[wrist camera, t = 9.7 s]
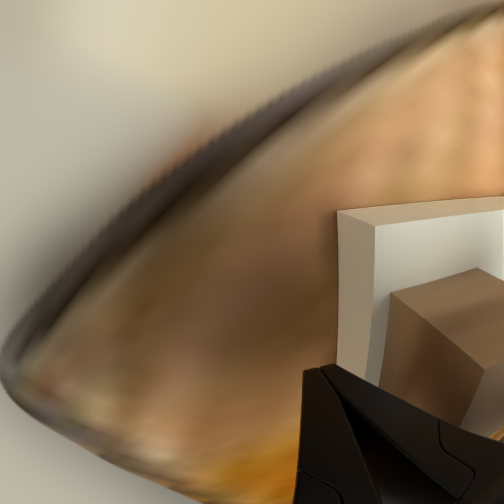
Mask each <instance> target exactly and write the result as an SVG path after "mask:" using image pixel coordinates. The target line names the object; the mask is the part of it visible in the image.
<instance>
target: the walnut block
mask: <svg viewBox="0 0 504 504" xmlns="http://www.w3.org/2000/svg"><path fill="white" fill-rule="evenodd" d="M378 387H379V388H380V389H382V390H384V391H386V392H388V393H390V394H392V395H394V396H396V397H398V398H400V399H402V400H403V401H405V402H407V403H409V404H411V405H413V406H415V407H417V408H419V409H421V410H423V411H425V412H427V413H429V414H431V415H434V416H436V417H437V418H438V419H442V420H444V421H446V422H448V423H451V424H453V425H455V426H457V427H460V428H462V429H464V430H467V431H469V432H472V433H475V434H478V435H481V436H484V437H487V438H488V437H489V436H491V435H492V434H493V433H495V432H496V431H497V430H498V429H500V428H501V427H502V426H504V281H503V280H501V279H499V278H497V277H495V276H493V275H491V274H489V273H487V272H485V271H483V270H481V269H479V268H474V269H471V270H468V271H465V272H462V273H458V274H455V275H452V276H448V277H445V278H441V279H438V280H434V281H431V282H427V283H424V284H420V285H417V286H413V287H409V288H405V289H402V290H398V291H394V292H390V303H389V314H388V324H387V332H386V340H385V348H384V355H383V362H382V368H381V374H380V380H379V385H378Z"/></svg>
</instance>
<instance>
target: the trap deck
mask: <svg viewBox="0 0 504 504" xmlns="http://www.w3.org/2000/svg"><path fill="white" fill-rule="evenodd" d="M337 225H338V259H339V310H338V343H337V365H338V366H340V367H342V368H344V369H345V370H347V371H349V372H351V373H353V374H355V375H356V376H358V377H360V378H362V379H364V380H366V381H367V382H369V383H371V384H373V385H375V386H377V387H378V385H379V380H380V374H381V368H382V362H383V355H384V348H385V340H386V332H387V324H388V314H389V303H390V292H394V291H398V290H402V289H405V288H409V287H413V286H417V285H420V284H424V283H427V282H431V281H434V280H438V279H441V278H445V277H448V276H452V275H455V274H458V273H462V272H465V271H468V270H471V269H474V268H479V269H481V270H483V271H485V272H487V273H489V274H491V275H493V276H495V277H497V278H499V279H501V280H503V281H504V196H495V197H480V198H466V199H453V200H440V201H429V202H417V203H406V204H396V205H386V206H376V207H366V208H357V209H348V210H339V211H337Z"/></svg>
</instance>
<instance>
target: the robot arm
mask: <svg viewBox="0 0 504 504" xmlns="http://www.w3.org/2000/svg"><path fill="white" fill-rule="evenodd" d="M292 504H504V442H500V441H497V440H493V439H490V438H487V437H484V436H481V435H478V434H475V433H472V432H469V431H467V430H464V429H462V428H460V427H457V426H455V425H453V424H451V423H448V422H446V421H444V420H442V419H438V418H437V417H436V416H434V415H431V414H429V413H427V412H425V411H423V410H421V409H419V408H417V407H415V406H413V405H411V404H409V403H407V402H405V401H403V400H402V399H400V398H398V397H396V396H394V395H392V394H390V393H388V392H386V391H384V390H382V389H380V388H379V387H377V386H375V385H373V384H371V383H369V382H367V381H366V380H364V379H362V378H360V377H358V376H356V375H355V374H353V373H351V372H349V371H347V370H345V369H344V368H342V367H340V366H338V365H337V364H334V363H332V364H328V365H324V366H320V367H319V368H317V367H315V368H311V369H307V370H304V371H303V379H302V401H301V419H300V435H299V449H298V462H297V473H296V482H295V490H294V497H293V503H292Z"/></svg>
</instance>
